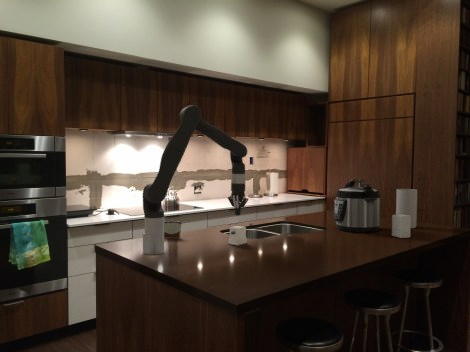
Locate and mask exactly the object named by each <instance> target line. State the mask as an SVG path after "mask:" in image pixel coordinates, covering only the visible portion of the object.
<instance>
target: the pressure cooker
mask: <svg viewBox="0 0 470 352" xmlns="http://www.w3.org/2000/svg"><path fill="white" fill-rule="evenodd" d="M356 183H359V184H360V185H361V186H354V185H355V184H356ZM335 195H336V196H335V198H334V204H333V218H334V220H335V224H336V225H335V226H336V227H337V228H338V229H339V230H342V231H347V232H353V233H365V232H367V233H368V232H376V231H378V230H379V227H380V226H381V194H380V191H379V190H377V189H374V188H373V187H372V185H371V184H369V183H367V182H365V181H364V180H360V179H354V180H353V179H352V180H351V181H348V182H346V183H345V185H344V187H343V188H339V189H337V193H336V194H335Z"/></svg>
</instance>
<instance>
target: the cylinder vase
mask: <svg viewBox="0 0 470 352" xmlns="http://www.w3.org/2000/svg"><path fill="white" fill-rule="evenodd" d="M395 197H396V201H395V202H396V206H395V207H396V208H395V215H397V214H403V215H409V216H411V228H410V229H415V228H417V214H418V213H417V212H418V211H417V209H418V189H414V188H412V189H411V188H396V196H395Z"/></svg>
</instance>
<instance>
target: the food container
mask: <svg viewBox="0 0 470 352" xmlns="http://www.w3.org/2000/svg"><path fill="white" fill-rule="evenodd" d="M182 224H183V222H182V219H179V218H168V219H167V218H166V219H165V218H164V239H180V238H181V231H182V230H181V229H182Z"/></svg>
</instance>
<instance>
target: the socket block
mask: <svg viewBox="0 0 470 352" xmlns="http://www.w3.org/2000/svg"><path fill="white" fill-rule="evenodd" d="M247 238H248V237H246V238H245V239H241V240H235V239H230V237H229V238H228V245H229V244H230V246H234V245H235V247H238V246H239V247H240V246H242V245H246V243H247V244H248V239H247Z"/></svg>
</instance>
